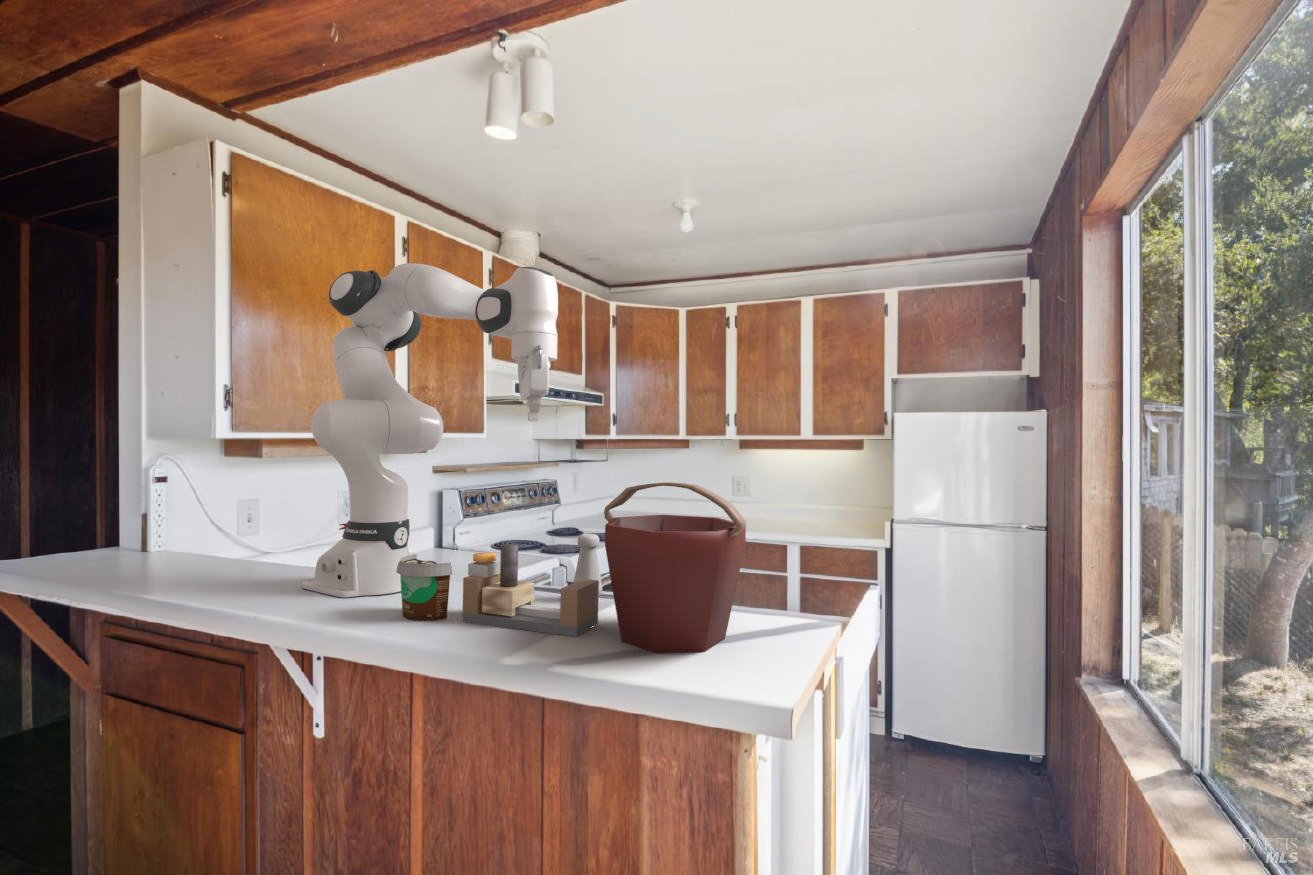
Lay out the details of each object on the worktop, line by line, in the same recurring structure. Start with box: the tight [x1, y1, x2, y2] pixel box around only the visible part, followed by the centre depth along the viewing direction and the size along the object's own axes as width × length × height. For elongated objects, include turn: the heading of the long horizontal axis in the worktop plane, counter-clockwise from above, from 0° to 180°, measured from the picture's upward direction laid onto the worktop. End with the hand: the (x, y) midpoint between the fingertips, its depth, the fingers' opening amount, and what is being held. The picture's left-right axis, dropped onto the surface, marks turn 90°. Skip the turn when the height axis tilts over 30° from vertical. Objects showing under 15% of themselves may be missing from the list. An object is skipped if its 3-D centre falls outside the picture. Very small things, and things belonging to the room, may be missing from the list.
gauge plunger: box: [472, 552, 497, 565], centre depth 115 cm, size 4×4×3 cm
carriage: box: [482, 543, 535, 616], centre depth 114 cm, size 6×7×11 cm
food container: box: [396, 553, 453, 622], centre depth 114 cm, size 12×6×10 cm, turn 50°
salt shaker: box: [573, 533, 603, 599], centre depth 128 cm, size 6×6×13 cm
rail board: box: [462, 561, 599, 638], centre depth 112 cm, size 22×8×10 cm, turn 70°
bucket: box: [603, 481, 747, 654], centre depth 106 cm, size 24×22×25 cm
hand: (533, 421), depth 127 cm, fingers closed
